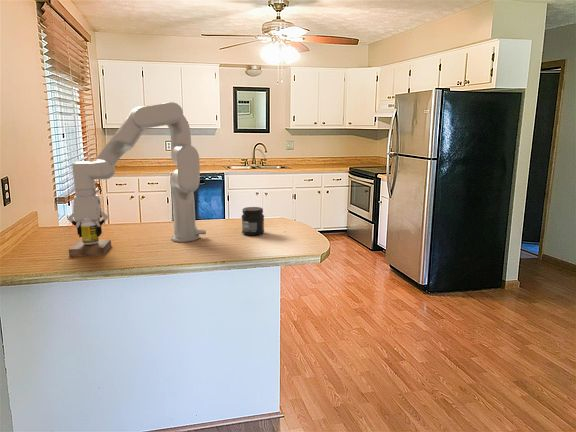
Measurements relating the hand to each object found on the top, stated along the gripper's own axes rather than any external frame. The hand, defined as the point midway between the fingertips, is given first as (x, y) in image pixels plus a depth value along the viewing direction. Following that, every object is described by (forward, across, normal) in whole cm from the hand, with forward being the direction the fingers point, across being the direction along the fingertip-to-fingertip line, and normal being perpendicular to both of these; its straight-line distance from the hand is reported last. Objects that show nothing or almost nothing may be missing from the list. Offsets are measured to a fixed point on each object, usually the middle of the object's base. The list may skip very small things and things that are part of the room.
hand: (90, 235), depth 184 cm
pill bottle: (+3, 0, 0) cm, 3 cm away
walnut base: (+7, 0, 0) cm, 7 cm away
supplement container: (+7, -68, -18) cm, 70 cm away
